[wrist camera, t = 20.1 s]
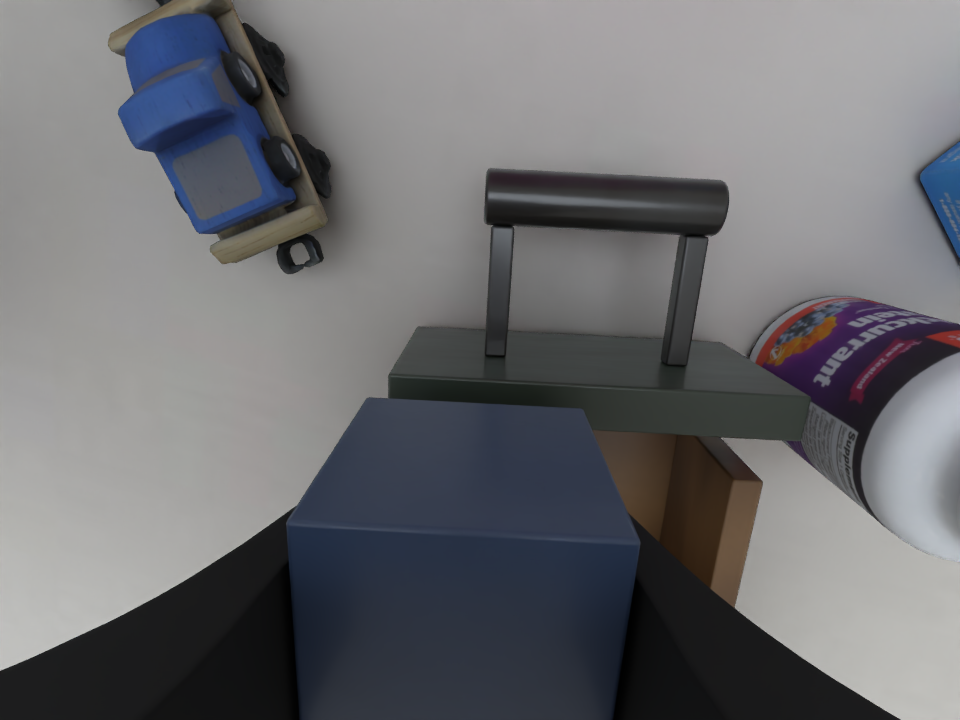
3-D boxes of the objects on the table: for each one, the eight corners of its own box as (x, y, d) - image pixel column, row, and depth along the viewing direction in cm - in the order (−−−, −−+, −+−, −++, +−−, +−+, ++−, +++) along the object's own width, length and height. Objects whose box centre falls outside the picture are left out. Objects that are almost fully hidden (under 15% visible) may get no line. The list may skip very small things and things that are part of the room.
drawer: (419, 170, 16) (387, 156, 11) (751, 187, 16) (866, 181, 11) (412, 626, 21) (387, 756, 16) (666, 641, 21) (720, 776, 16)
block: (369, 578, 12) (300, 783, 8) (366, 395, 11) (283, 521, 6) (563, 589, 12) (602, 801, 8) (583, 407, 11) (643, 540, 6)
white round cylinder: (879, 267, 18) (1312, 340, 8) (911, 405, 19) (1314, 601, 10) (721, 330, 18) (956, 463, 9) (762, 459, 20) (1004, 690, 10)
